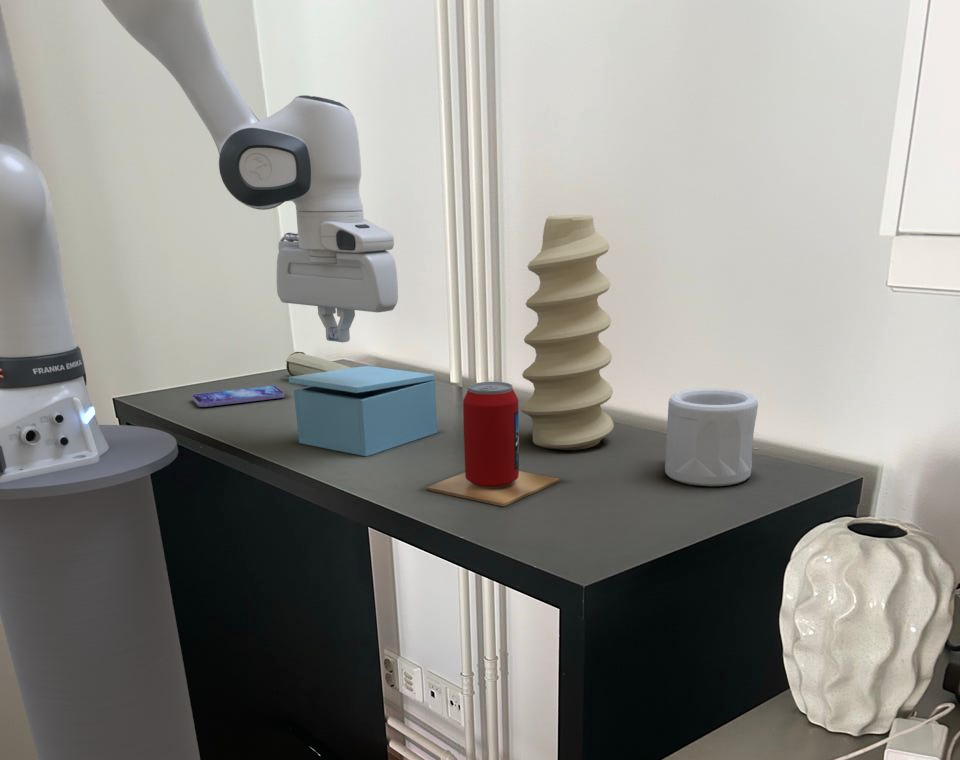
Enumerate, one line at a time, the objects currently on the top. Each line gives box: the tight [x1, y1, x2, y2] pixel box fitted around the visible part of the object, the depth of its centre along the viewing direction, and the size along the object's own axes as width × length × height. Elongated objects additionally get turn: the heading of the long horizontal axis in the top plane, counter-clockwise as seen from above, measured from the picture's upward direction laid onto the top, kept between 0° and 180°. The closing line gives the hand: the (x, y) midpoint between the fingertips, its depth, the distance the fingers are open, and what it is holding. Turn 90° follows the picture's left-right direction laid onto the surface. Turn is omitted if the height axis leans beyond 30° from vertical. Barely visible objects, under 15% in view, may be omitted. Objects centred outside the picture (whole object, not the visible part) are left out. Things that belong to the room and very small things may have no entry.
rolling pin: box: [285, 351, 352, 377], centre depth 180 cm, size 32×6×5 cm, turn 34°
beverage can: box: [462, 381, 520, 488], centre depth 122 cm, size 7×7×12 cm
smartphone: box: [191, 384, 285, 408], centre depth 174 cm, size 7×1×15 cm
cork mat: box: [426, 470, 561, 508], centre depth 125 cm, size 12×12×1 cm
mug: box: [664, 388, 759, 487], centre depth 125 cm, size 14×11×10 cm
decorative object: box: [520, 214, 615, 451], centre depth 137 cm, size 13×13×30 cm
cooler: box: [293, 380, 438, 457], centre depth 146 cm, size 16×14×8 cm
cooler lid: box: [288, 365, 436, 393], centre depth 144 cm, size 16×14×1 cm
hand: (338, 341), depth 138 cm, fingers closed
